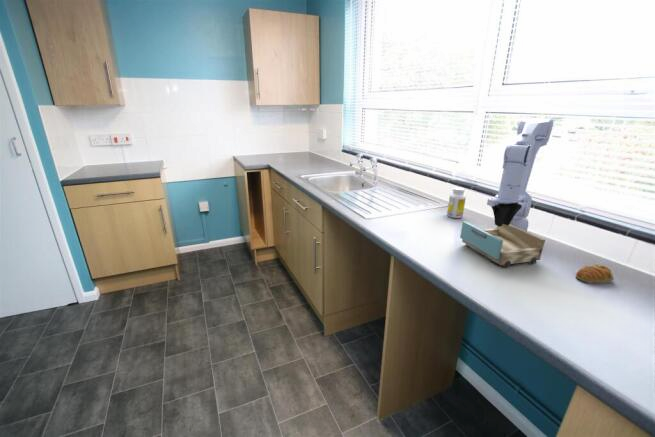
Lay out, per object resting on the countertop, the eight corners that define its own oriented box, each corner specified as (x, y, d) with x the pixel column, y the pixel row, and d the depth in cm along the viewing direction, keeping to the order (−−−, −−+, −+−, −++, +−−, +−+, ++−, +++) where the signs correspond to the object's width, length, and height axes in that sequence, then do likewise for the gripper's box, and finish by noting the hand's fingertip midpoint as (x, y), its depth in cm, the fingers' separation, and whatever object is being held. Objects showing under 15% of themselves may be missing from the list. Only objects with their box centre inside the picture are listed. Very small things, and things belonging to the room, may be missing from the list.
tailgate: (462, 237, 110) (465, 221, 108) (499, 258, 95) (503, 240, 93) (458, 237, 110) (461, 221, 108) (494, 259, 95) (498, 241, 93)
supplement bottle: (463, 215, 143) (468, 188, 138) (460, 219, 137) (465, 191, 133) (448, 212, 146) (452, 186, 142) (445, 216, 141) (449, 188, 137)
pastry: (592, 288, 87) (596, 275, 85) (567, 276, 93) (571, 264, 91) (614, 282, 90) (618, 270, 88) (589, 271, 96) (592, 260, 94)
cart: (496, 241, 116) (500, 220, 113) (538, 263, 99) (545, 239, 97) (461, 244, 112) (465, 223, 109) (499, 268, 96) (505, 244, 93)
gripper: (516, 180, 103) (507, 218, 108) (482, 182, 98) (475, 223, 103) (536, 184, 97) (526, 225, 102) (501, 188, 92) (492, 230, 97)
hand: (501, 225), depth 102 cm, fingers open, 3 cm apart
